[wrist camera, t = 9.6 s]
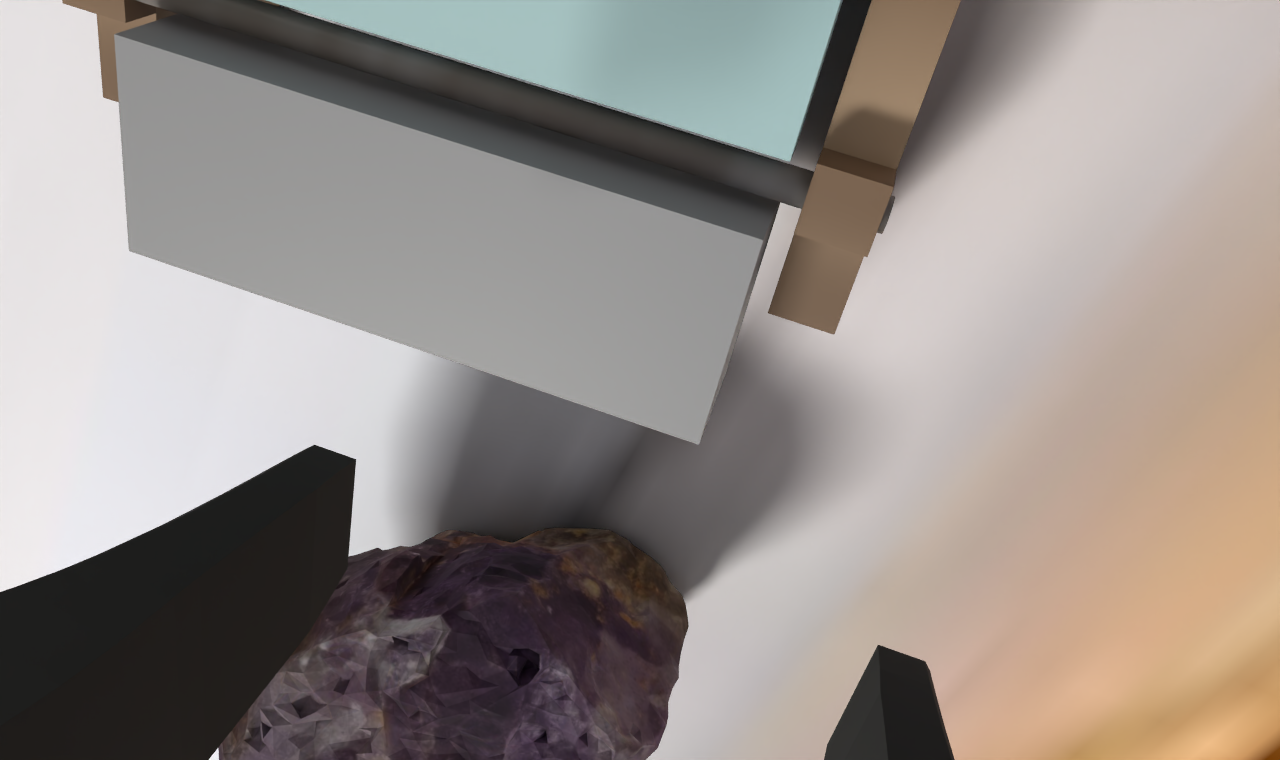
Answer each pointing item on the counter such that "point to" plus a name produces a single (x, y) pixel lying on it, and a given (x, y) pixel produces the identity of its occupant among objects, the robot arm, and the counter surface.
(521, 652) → the rock
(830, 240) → the frame
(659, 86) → the trapdoor
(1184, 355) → the counter surface
